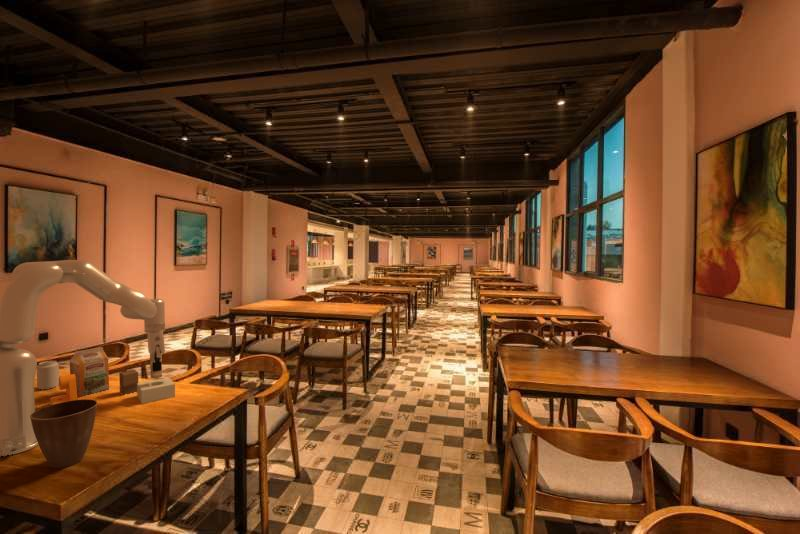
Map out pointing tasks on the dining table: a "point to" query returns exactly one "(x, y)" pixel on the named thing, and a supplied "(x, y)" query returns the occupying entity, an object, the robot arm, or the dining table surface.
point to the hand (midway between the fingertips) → (156, 369)
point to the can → (47, 375)
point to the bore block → (155, 390)
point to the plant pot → (64, 430)
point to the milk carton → (90, 371)
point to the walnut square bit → (128, 381)
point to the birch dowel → (153, 374)
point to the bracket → (70, 386)
